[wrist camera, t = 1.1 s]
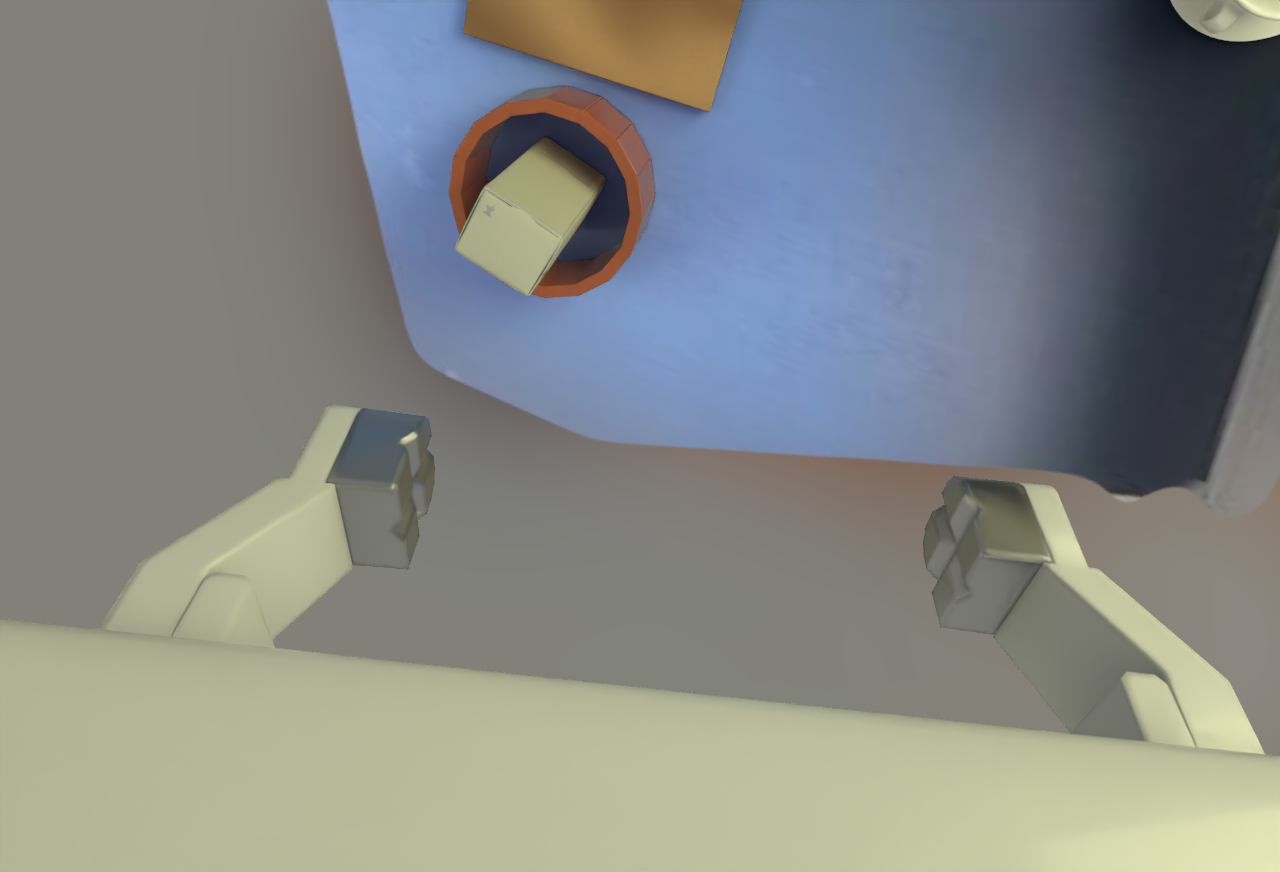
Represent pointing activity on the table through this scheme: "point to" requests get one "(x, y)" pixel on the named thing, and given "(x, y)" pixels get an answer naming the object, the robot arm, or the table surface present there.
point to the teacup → (1232, 18)
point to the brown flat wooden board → (620, 39)
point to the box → (529, 214)
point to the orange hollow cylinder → (602, 125)
